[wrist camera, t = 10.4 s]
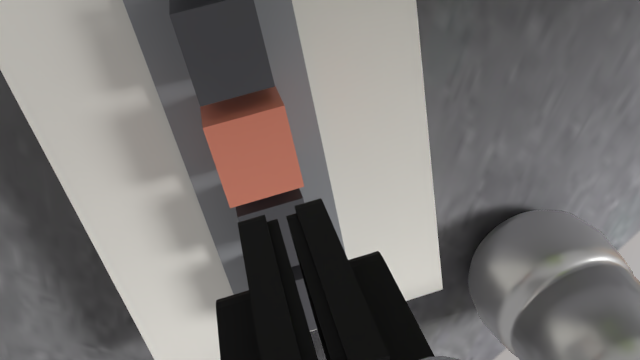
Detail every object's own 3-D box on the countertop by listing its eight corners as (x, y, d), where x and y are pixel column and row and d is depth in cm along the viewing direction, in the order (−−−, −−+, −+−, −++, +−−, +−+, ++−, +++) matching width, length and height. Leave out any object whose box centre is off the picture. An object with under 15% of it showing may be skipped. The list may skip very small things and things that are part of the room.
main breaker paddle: (271, 77, 16) (284, 105, 14) (290, 152, 18) (304, 186, 16) (198, 96, 16) (202, 127, 14) (223, 171, 17) (230, 208, 16)
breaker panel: (349, -305, 15) (430, -379, 10) (416, 247, 26) (471, 333, 21) (-100, -215, 14) (-238, -252, 9) (164, 324, 25) (163, 434, 20)
